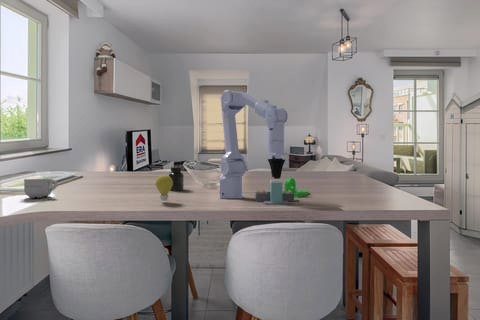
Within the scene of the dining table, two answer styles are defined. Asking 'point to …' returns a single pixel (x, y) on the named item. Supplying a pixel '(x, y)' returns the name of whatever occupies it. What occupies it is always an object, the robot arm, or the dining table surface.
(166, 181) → the light bulb
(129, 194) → the dining table surface
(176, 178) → the supplement bottle
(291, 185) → the mechanical part
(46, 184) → the teacup
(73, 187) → the dining table surface
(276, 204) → the pad
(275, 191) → the plug
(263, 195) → the box
